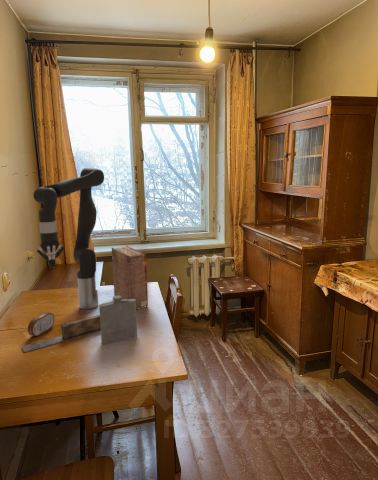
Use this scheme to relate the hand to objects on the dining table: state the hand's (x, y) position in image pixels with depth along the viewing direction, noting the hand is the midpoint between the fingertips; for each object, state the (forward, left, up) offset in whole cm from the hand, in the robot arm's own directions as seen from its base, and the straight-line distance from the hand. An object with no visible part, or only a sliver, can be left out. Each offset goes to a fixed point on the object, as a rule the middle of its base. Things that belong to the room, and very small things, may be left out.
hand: (52, 266), depth 168 cm
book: (-42, -4, -29) cm, 51 cm away
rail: (+1, +18, -29) cm, 34 cm away
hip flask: (-18, +33, -29) cm, 48 cm away
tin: (+8, +5, -29) cm, 31 cm away
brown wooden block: (-7, +18, -29) cm, 35 cm away
